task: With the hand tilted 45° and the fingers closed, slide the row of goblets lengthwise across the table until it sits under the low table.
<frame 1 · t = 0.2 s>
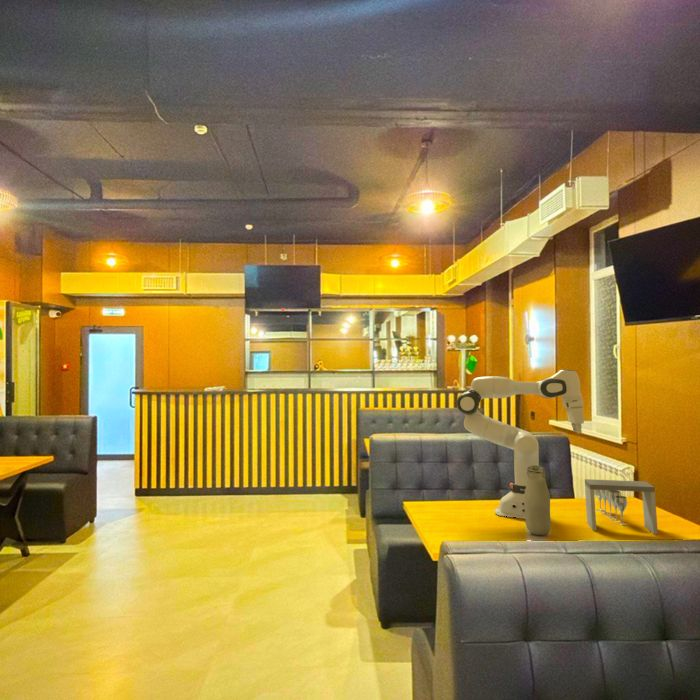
hand: (577, 432, 218), 39 cm above the table, tool pointing down, fingers open, 8 cm apart
low table: (620, 528, 198), on the table
goblet set: (610, 517, 215), on the table
grey bottle: (539, 534, 192), on the table
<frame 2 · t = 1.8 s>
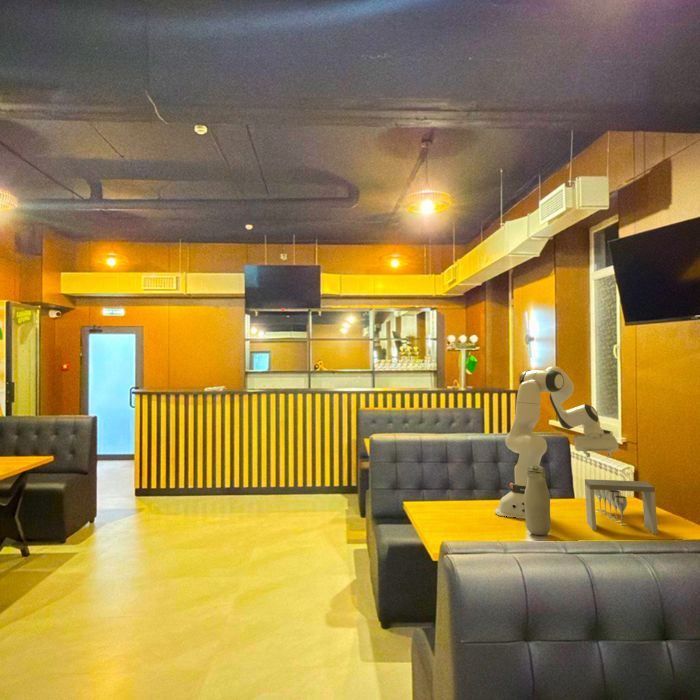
hand: (598, 456, 237), 25 cm above the table, tool tilted 45°, fingers open, 8 cm apart
nothing on the table moved.
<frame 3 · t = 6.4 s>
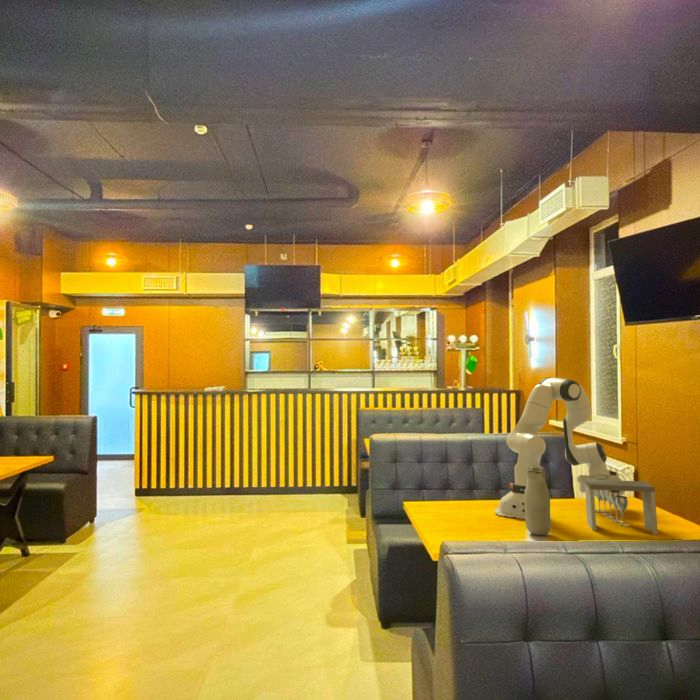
hand: (604, 500, 226), 5 cm above the table, tool tilted 45°, fingers closed
goblet set: (610, 517, 214), on the table, touching gripper
everything else where it was.
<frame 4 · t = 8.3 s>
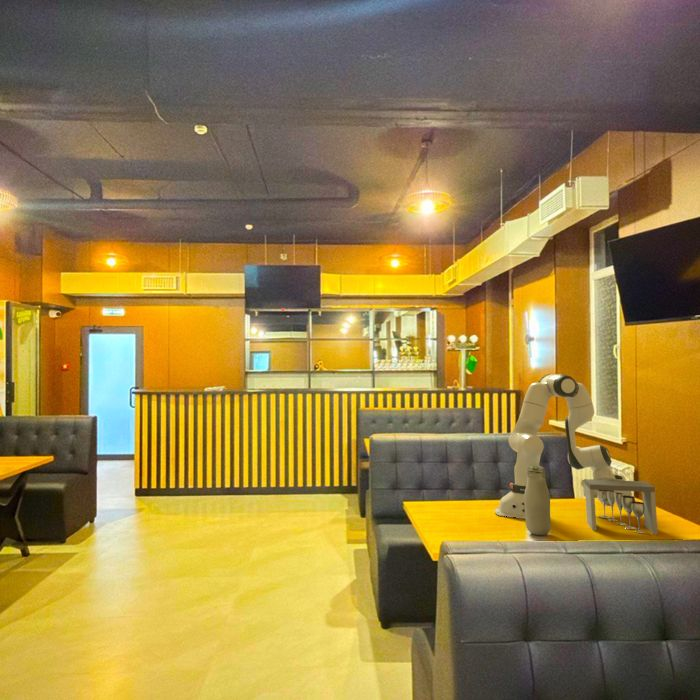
hand: (609, 505, 215), 5 cm above the table, tool tilted 45°, fingers closed
goblet set: (620, 524, 204), on the table, touching gripper
everything else where it was.
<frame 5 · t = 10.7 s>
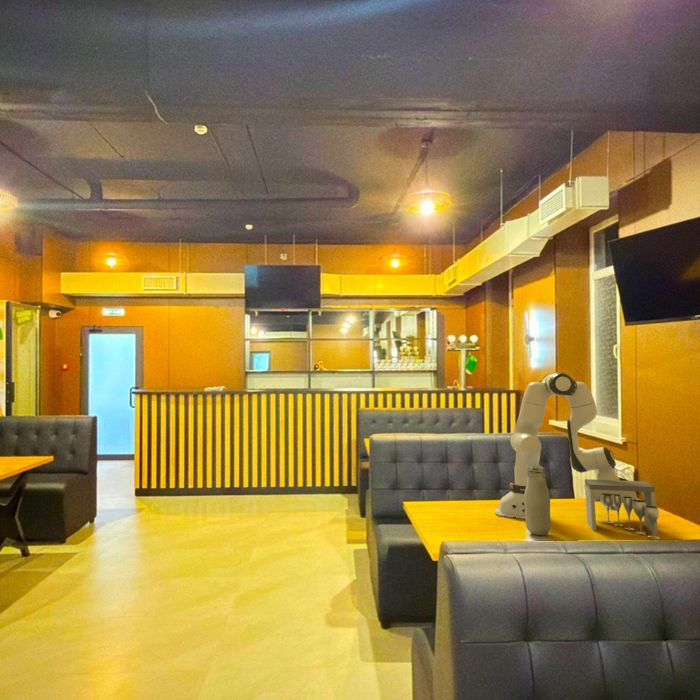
hand: (614, 510, 207), 5 cm above the table, tool tilted 45°, fingers closed
goblet set: (629, 529, 196), on the table, touching gripper
everything else where it was.
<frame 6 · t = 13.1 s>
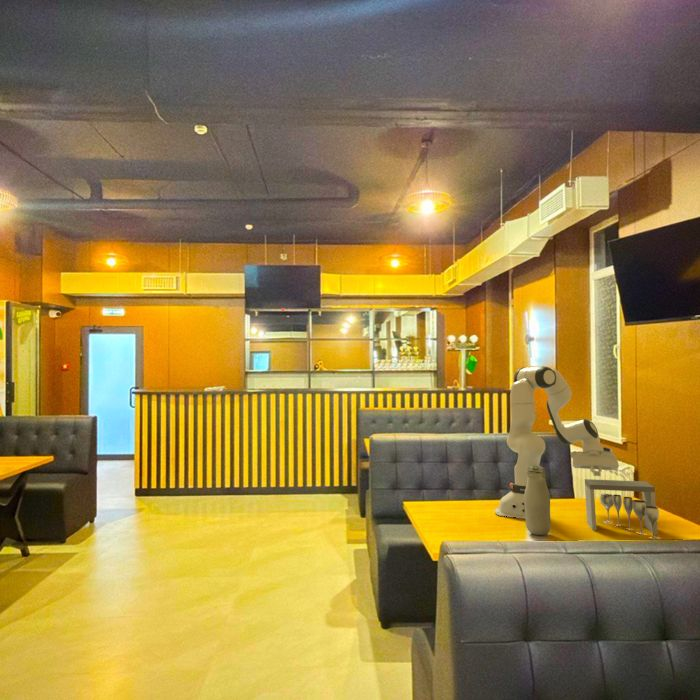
hand: (597, 475, 224), 18 cm above the table, tool tilted 45°, fingers closed
goblet set: (629, 530, 196), on the table
everything else where it was.
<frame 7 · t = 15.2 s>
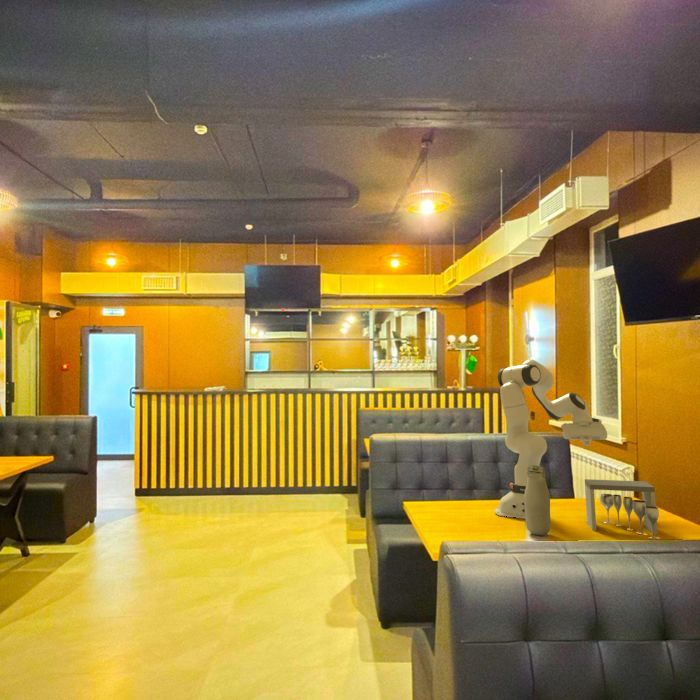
hand: (587, 444, 232), 31 cm above the table, tool tilted 45°, fingers closed
nothing on the table moved.
at the end: goblet set inside the target area on the low table (3.1 cm from its centre), point 0.0 cm above the low table's base; goblet set tilted 0° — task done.
